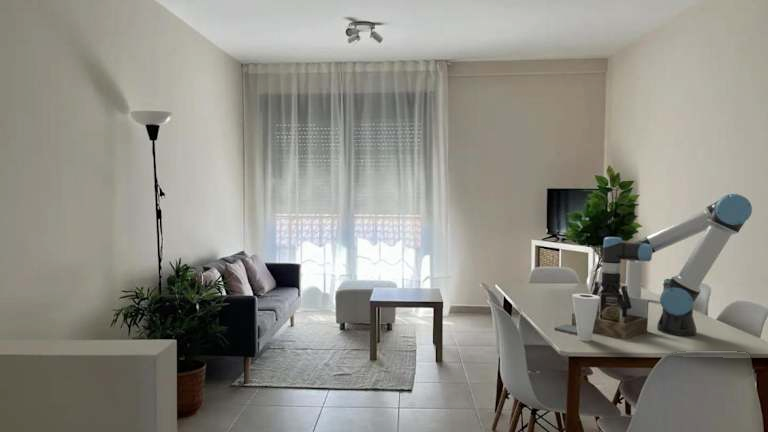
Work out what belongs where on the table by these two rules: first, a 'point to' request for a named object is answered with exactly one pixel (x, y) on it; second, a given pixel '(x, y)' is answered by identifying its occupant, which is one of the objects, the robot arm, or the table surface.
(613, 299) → the coffee box
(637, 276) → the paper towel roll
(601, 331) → the wooden tray
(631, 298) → the lid
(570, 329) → the slate mat
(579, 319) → the cup
